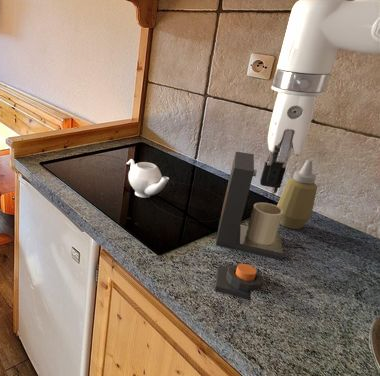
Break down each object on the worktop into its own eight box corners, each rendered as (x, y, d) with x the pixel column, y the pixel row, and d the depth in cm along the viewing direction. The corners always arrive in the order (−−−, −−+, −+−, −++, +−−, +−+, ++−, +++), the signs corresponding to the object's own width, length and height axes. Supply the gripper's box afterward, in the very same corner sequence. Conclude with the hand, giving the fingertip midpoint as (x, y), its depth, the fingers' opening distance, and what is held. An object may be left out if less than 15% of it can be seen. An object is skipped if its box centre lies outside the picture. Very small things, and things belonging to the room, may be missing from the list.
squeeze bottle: (313, 227, 106) (335, 163, 98) (295, 234, 102) (317, 168, 94) (283, 214, 112) (302, 152, 104) (265, 220, 108) (284, 157, 100)
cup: (273, 234, 99) (282, 205, 96) (274, 247, 94) (284, 217, 90) (245, 228, 101) (253, 200, 98) (245, 240, 96) (253, 211, 93)
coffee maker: (278, 235, 101) (301, 161, 93) (281, 260, 91) (307, 180, 83) (218, 222, 107) (235, 151, 98) (215, 245, 97) (233, 167, 88)
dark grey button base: (268, 282, 84) (272, 270, 83) (269, 305, 78) (274, 293, 76) (217, 269, 88) (220, 257, 87) (214, 290, 81) (217, 278, 80)
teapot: (137, 179, 131) (141, 152, 127) (176, 206, 114) (182, 176, 111) (111, 183, 128) (114, 155, 124) (148, 211, 111) (152, 181, 107)
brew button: (254, 273, 82) (256, 266, 82) (254, 283, 80) (256, 276, 79) (235, 268, 84) (237, 261, 83) (235, 278, 81) (236, 271, 80)
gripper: (334, 93, 58) (297, 206, 66) (319, 77, 70) (289, 174, 78) (275, 87, 61) (246, 197, 68) (271, 73, 73) (247, 167, 81)
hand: (269, 184), depth 73 cm, fingers closed
